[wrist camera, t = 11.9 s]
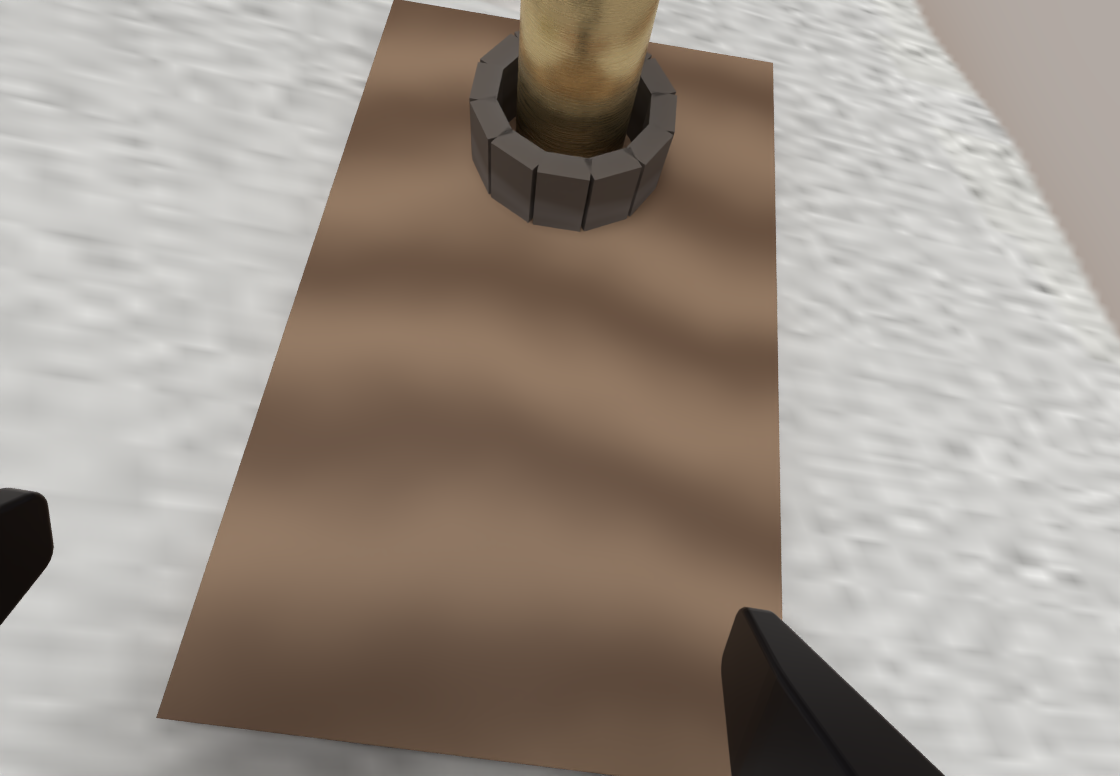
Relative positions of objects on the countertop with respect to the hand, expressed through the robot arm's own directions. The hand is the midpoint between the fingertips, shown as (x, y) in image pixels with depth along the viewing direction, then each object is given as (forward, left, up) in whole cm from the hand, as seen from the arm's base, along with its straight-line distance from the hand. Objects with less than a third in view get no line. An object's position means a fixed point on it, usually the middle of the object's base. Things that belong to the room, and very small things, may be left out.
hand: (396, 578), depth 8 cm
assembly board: (+6, -10, -14) cm, 18 cm away
